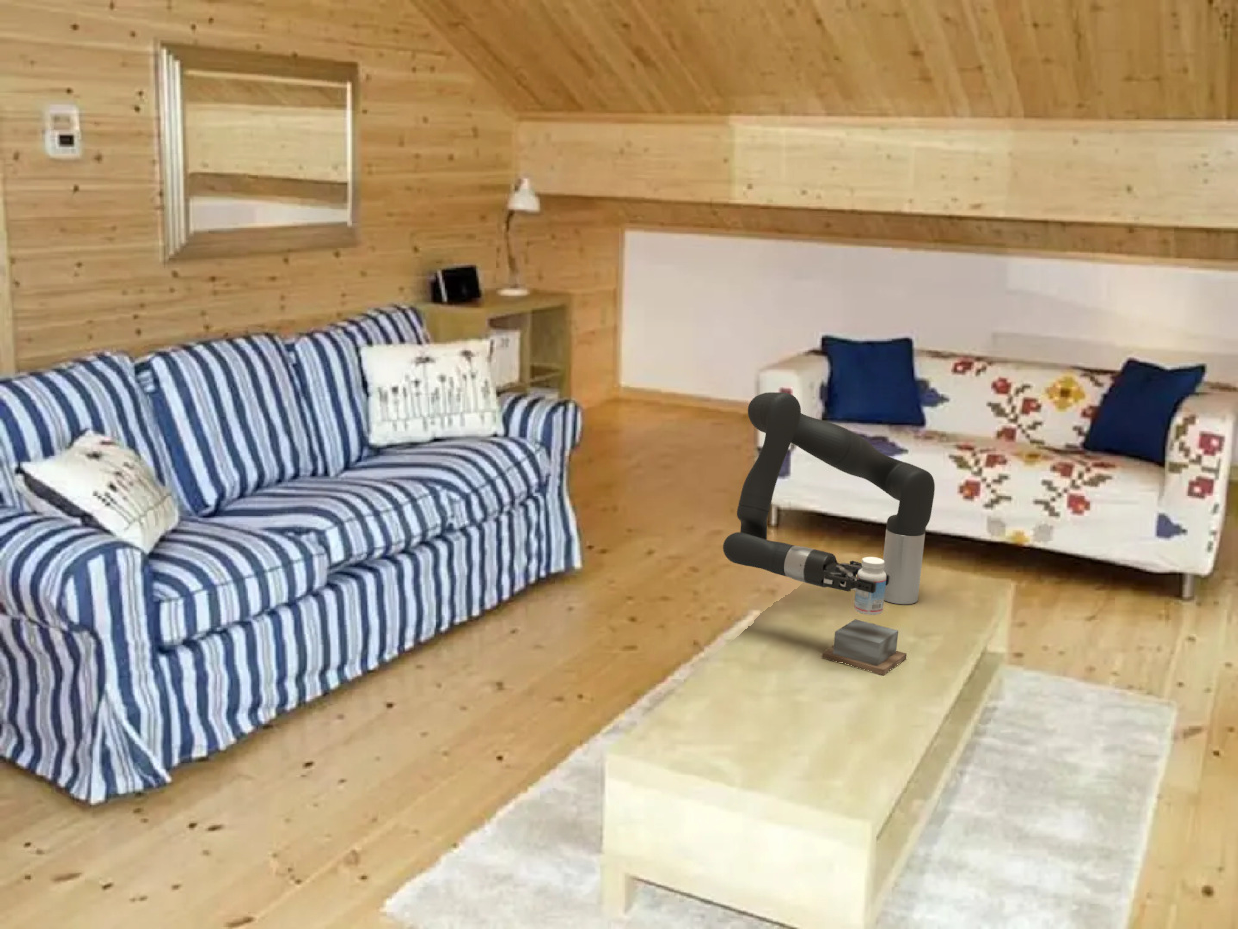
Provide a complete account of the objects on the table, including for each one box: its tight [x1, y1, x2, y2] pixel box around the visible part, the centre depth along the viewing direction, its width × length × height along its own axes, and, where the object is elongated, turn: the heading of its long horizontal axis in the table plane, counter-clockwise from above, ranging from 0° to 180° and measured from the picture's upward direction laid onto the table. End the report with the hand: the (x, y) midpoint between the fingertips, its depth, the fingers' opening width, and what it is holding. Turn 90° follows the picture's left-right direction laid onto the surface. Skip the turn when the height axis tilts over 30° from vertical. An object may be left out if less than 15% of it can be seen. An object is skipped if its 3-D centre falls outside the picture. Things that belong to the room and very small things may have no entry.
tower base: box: [821, 618, 908, 676], centre depth 270 cm, size 12×14×6 cm
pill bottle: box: [853, 556, 886, 616], centre depth 267 cm, size 6×6×11 cm
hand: (881, 584), depth 265 cm, fingers closed on pill bottle, 6 cm apart
